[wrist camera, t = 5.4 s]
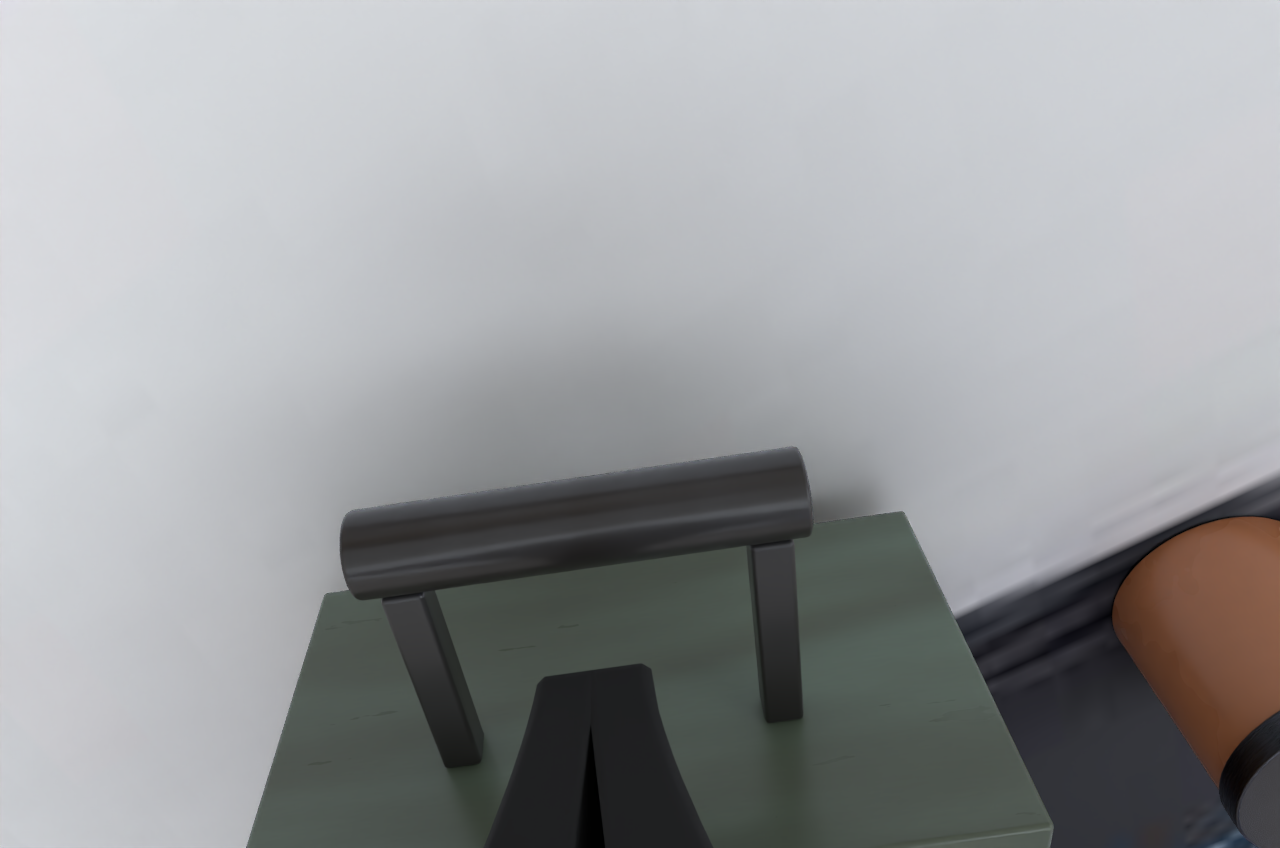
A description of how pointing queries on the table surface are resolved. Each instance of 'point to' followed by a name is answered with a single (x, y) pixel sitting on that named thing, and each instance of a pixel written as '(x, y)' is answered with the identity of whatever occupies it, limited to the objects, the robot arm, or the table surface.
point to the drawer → (665, 642)
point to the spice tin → (1216, 656)
